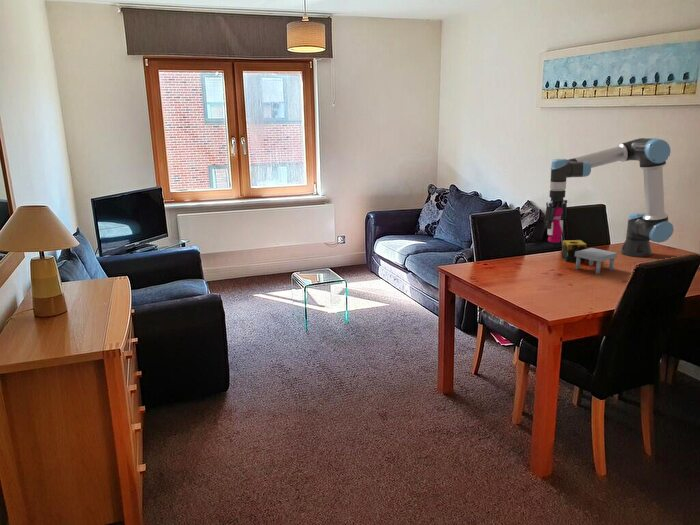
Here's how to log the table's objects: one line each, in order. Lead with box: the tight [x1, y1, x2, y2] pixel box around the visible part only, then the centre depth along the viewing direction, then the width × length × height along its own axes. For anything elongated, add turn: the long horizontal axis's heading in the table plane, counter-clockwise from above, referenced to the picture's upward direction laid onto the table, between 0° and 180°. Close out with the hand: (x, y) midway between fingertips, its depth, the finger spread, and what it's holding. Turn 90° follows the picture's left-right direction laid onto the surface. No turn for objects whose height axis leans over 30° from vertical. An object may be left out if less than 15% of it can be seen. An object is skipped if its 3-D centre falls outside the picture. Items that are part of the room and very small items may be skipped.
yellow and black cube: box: [561, 239, 587, 263], centre depth 282 cm, size 10×10×10 cm
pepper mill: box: [547, 207, 563, 243], centre depth 268 cm, size 7×7×20 cm
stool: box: [575, 247, 618, 275], centre depth 263 cm, size 14×14×9 cm
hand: (554, 233), depth 270 cm, fingers closed on pepper mill, 7 cm apart
